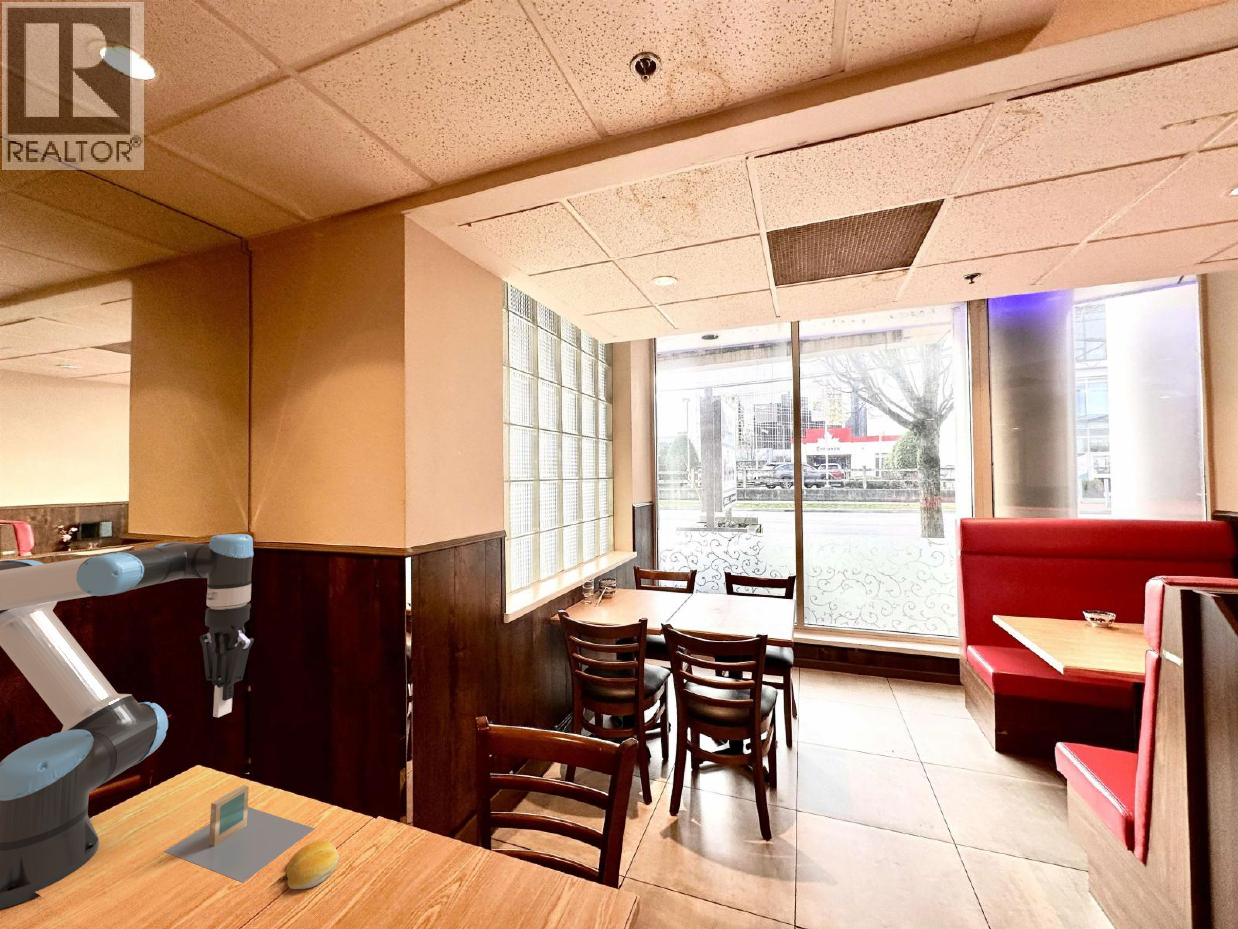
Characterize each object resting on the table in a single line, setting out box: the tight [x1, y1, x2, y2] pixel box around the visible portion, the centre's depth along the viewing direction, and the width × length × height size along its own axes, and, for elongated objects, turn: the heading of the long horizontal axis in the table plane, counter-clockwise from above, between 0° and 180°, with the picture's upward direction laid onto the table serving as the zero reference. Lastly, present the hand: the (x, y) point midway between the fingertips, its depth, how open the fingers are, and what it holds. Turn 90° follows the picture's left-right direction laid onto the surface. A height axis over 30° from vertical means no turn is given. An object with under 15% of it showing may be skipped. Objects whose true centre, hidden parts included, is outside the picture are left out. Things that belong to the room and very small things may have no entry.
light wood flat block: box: [209, 784, 250, 846], centre depth 95 cm, size 2×6×8 cm, turn 162°
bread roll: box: [285, 839, 340, 890], centre depth 88 cm, size 8×9×4 cm
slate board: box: [163, 806, 316, 883], centre depth 94 cm, size 22×14×1 cm, turn 72°
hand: (222, 714), depth 102 cm, fingers closed
